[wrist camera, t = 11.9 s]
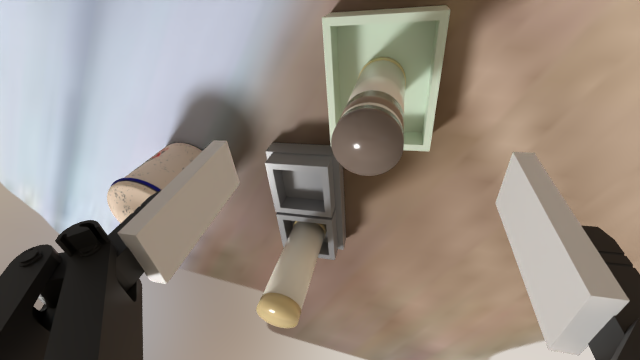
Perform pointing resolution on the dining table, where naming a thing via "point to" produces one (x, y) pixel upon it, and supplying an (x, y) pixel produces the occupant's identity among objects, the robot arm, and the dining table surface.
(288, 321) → the fuse
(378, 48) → the parts tray
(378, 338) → the dining table surface
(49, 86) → the dining table surface
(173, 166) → the teacup with lid
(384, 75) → the cylinder
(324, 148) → the fuse block
